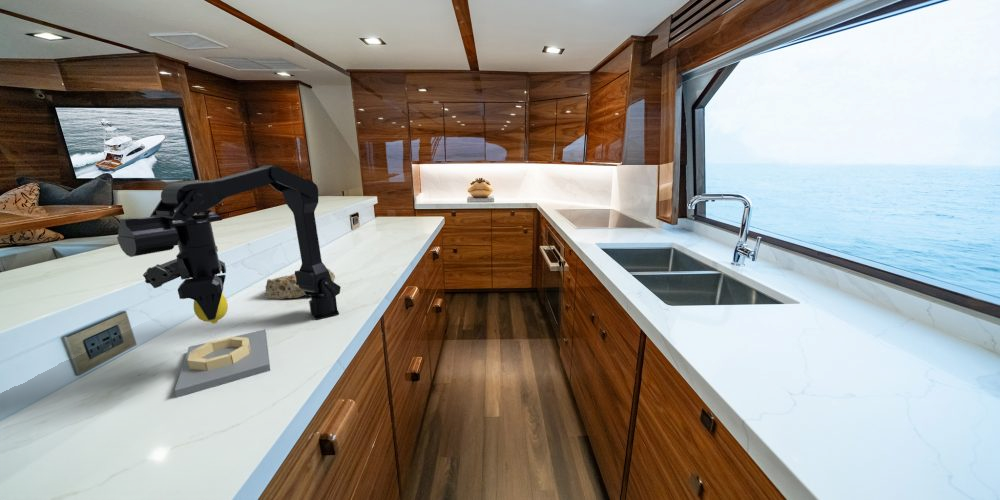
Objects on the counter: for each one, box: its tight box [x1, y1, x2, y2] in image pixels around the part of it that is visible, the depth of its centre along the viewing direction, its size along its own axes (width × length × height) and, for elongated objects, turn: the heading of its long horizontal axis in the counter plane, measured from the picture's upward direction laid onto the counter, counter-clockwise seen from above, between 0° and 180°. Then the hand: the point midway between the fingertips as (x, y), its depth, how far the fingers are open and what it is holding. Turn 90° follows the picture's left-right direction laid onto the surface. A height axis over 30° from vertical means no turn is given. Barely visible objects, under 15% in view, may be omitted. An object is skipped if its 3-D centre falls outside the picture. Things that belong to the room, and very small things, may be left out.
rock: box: [264, 268, 336, 300], centre depth 118 cm, size 21×14×10 cm
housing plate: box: [174, 328, 271, 398], centre depth 76 cm, size 15×20×4 cm
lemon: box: [193, 293, 229, 324], centre depth 72 cm, size 6×6×8 cm
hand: (213, 314), depth 73 cm, fingers closed on lemon, 5 cm apart
